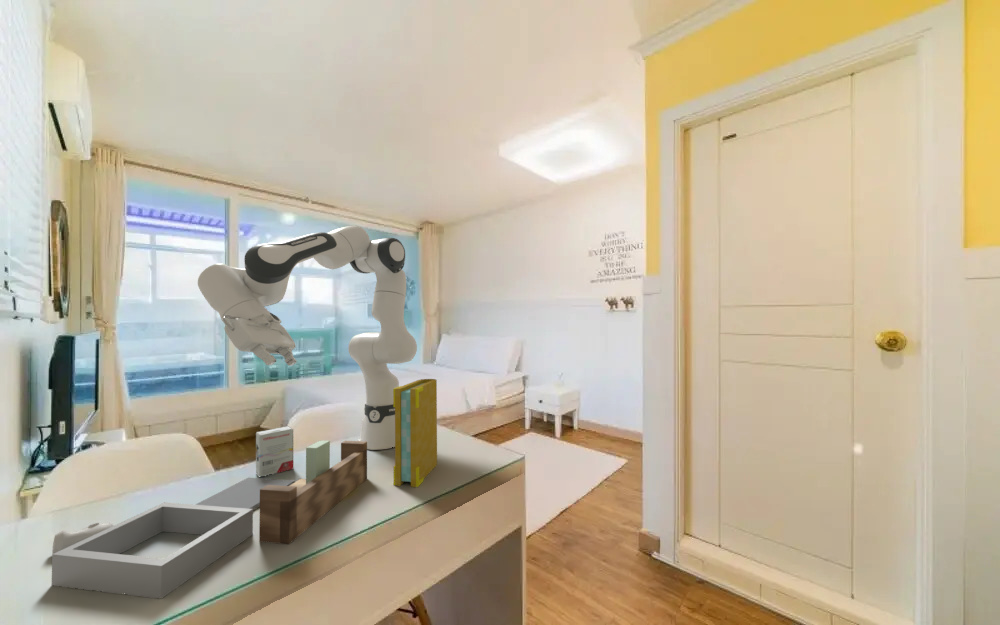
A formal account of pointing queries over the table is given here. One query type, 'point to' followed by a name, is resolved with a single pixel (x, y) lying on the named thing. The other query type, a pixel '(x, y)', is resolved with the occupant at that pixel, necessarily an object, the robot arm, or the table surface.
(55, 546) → the pale two-lobed sculpture
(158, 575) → the grey tray frame
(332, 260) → the robot arm
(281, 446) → the ink box
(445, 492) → the table surface
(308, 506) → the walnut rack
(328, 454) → the pale green block
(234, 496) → the slate mat
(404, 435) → the book
